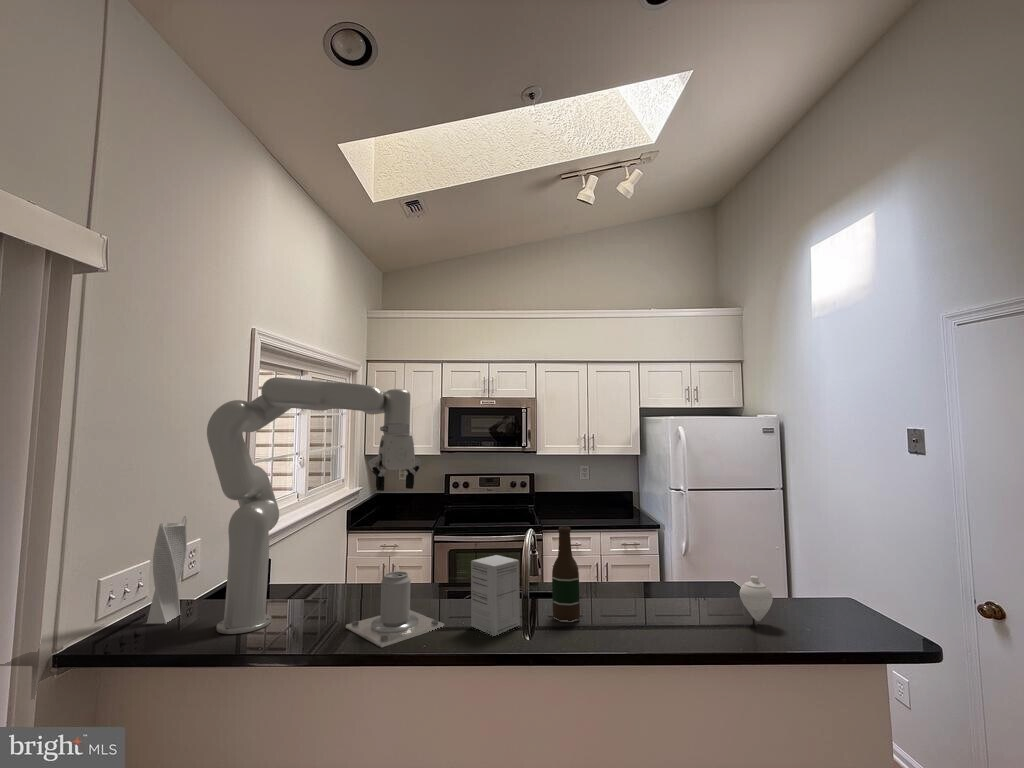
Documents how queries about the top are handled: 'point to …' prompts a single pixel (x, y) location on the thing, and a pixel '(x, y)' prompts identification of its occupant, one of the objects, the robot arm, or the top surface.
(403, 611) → the can
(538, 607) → the top surface
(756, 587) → the spinning top
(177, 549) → the skyscraper
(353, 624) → the flange
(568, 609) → the beer bottle
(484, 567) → the supplement box
